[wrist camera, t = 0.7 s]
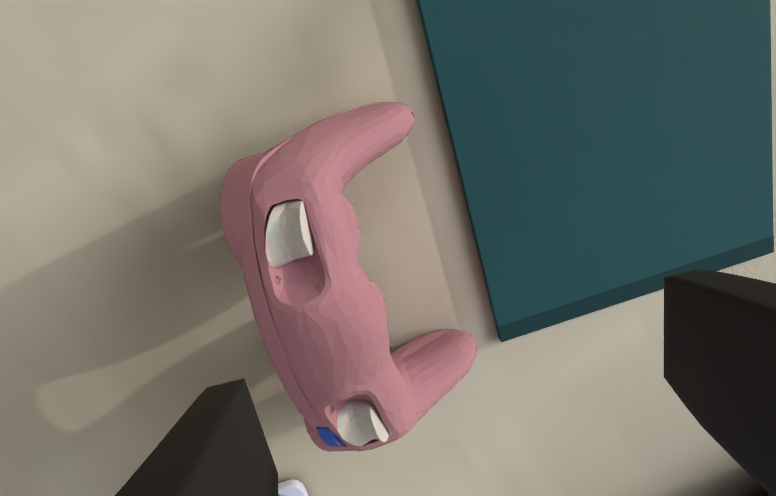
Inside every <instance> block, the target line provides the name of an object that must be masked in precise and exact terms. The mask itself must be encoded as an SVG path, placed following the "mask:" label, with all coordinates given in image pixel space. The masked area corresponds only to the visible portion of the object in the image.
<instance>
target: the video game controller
mask: <svg viewBox="0 0 776 496" xmlns="http://www.w3.org/2000/svg"><path fill="white" fill-rule="evenodd" d="M414 121H415V115H414V112H413V110H412V109H411V108H410V107H408V106H407V105H405V104H400V103H395V102H380V103H373V104H367V105H363V106H359V107H356V108H352V109H349V110H347V111H344V112H342V113H339V114H337V115H334V116H332V117H329V118H326V119H323V120H321V121H319V122H317V123H315V124H313V125H311V126H310V127H308V128H306V129H304V130H302V131H301V132H299V133H298V134H296V135H294V136H292V137H291V138H289V139H287V140H285V141H284V142H282V143H280V144H278V145H277V146H275V147H273V148H271V149H270V150H268V151H266V152H264V153H262V154H258V155H254V156H251V157H247V158H244V159H241V160H239V161H238V162H236V163H234V164H233V165H232V166H231V167H230V168H229V170H228V172H227V174H226V176H225V178H224V182H223V185H222V192H221V222H222V227H223V231H224V235H225V238H226V241H227V244H228V246H229V248H230V250H231V252H232V254H233V255H234V257H235V258H236V260H237V261H238V263H239V264H240V266H241V267H242V268H243V274H244V279H245V283H246V286H247V290H248V294H249V298H250V302H251V305H252V309H253V313H254V316H255V320H256V323H257V325H258V328H259V331H260V333H261V336H262V339H263V341H264V344H265V347H266V349H267V352H268V354H269V357H270V359H271V362H272V364H273V366H274V368H275V370H276V372H277V374H278V376H279V378H280V380H281V382H282V384H283V386H284V387H285V389H286V391H287V393H288V394H289V396H290V398H291V399H292V401H293V403H294V404H295V406H296V407H297V409H298V411H299V412H300V413H301V414H302V416H303V417H304V421H305V425H306V428H307V432H308V434H309V435H310V437H311V439H312V440H313V442H314V443H315V444H316V445H317V446H318V447H319V448H320V449H322V450H325V451H365V450H370V449H374V448H377V447H380V446H382V445H385V444H387V443H390V442H393V441H395V440H398V439H399V438H401V437H402V436H404V435H405V434H406V433H407V432H408V431H409V430H410V429H411V428H412V427H413V426H414V425H415V424H416V423H417V422H418V421H419V420H420V419H421V418H422V417H423V416H424V415H425V413H426V412H427V411H428V410H429V409H430V408H431V407H432V406H433V405H435V404H436V403H437V402H438V401H439V400H440V399H441V398H442V397H443V396H444V395H445V394H447V393H448V392H449V391H450V390H451V389H452V388H453V387H454V386H455V385H456V384H457V383H458V382H459V381H460V380H461V379H462V378H463V377H464V376H465V375H466V374H467V373H468V372H469V370H470V368H471V366H472V364H473V362H474V360H475V358H476V354H477V345H476V342H475V340H474V337H473V336H472V335H471V334H469V333H467V332H464V331H460V330H456V329H452V330H439V331H435V332H432V333H429V334H425V335H423V336H420V337H418V338H416V339H414V340H412V341H410V342H408V343H406V344H404V345H402V346H401V347H399V348H397V349H395V350H394V351H392V352H390V349H389V334H388V327H387V313H386V307H385V301H384V298H383V296H382V293H381V291H380V289H379V288H378V286H377V285H376V283H374V282H373V281H371V280H369V279H368V278H367V276H366V274H365V273H364V271H363V269H362V268H361V266H360V263H359V261H358V258H357V253H358V248H359V227H358V223H357V218H356V214H355V212H354V209H353V207H352V204H351V203H350V201H349V200H348V199H347V198H346V196H345V195H343V189H344V187H345V186H346V184H347V183H348V182H349V180H350V179H351V178H353V177H354V176H355V175H356V174H357V173H358V172H359V171H361V170H362V169H363V168H364V167H365V166H366V165H367V164H369V163H370V162H372V161H373V160H375V159H376V158H378V157H380V156H381V155H383V154H384V153H386V152H387V151H389V150H390V149H392V148H393V147H395V146H396V145H398V144H399V143H401V142H402V140H403V139H404V138H405V137H406V135H407V134H408V133H409V132H410V130H411V128H412V126H413V124H414Z"/></svg>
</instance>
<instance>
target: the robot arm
mask: <svg viewBox="0 0 776 496" xmlns="http://www.w3.org/2000/svg"><path fill="white" fill-rule="evenodd" d="M664 378H665V379H666V380H667V382H668V383H669V384H670V386H671V387H672V389H673V390H674V391H675V393H676V394H677V395H678V397H679V398H680V399H681V401H682V402H683V403H684V405H685V406H686V407H687V408H688V410H689V411H690V412H691V413H692V415H693V416H694V417H695V418H696V420H697V421H698V422H699V423H700V425H701V426H702V427H703V428H704V429H705V430H706V431H707V432H708V433H709V434H710V435H711V436H712V437H713V438H714V439H715V440H716V441H717V442H718V443H719V444H720V445H721V446H722V447H723V448H724V449H725V450H726V451H727V452H728V453H729V454H730V455H731V456H732V457H733V459H734V460H735V461H736V462H737V463H738V464H739V465H740V466H741V467H742V468H743V469H744V470H745V471H746V472H747V473H748V474H750V475H751V476H752V477H753V478H754V479H755V480H756V481H757V482H758V483H759V484H760V485H761V486H762V487H763V488H764V489H765V490H766V491H767V492H768V493H769V494H770V495H771V496H776V284H775V283H771V282H766V281H762V280H757V279H753V278H748V277H743V276H738V275H733V274H728V273H723V272H717V271H710V270H702V269H697V270H692V271H688V272H684V273H680V274H676V275H672V276H667V277H664ZM279 495H282V496H308V493H307V491H306V489H305V487H304V485H303V484H302V483H301V482H300V481H298V480H293V479H292V480H287V481H284V482H281V483H278V472H277V470H276V467H275V464H274V461H273V458H272V455H271V453H270V450H269V447H268V444H267V441H266V439H265V436H264V433H263V430H262V427H261V424H260V422H259V419H258V416H257V413H256V410H255V407H254V405H253V402H252V399H251V396H250V393H249V391H248V388H247V385H246V382H245V379H240V380H236V381H232V382H228V383H223V384H219V385H215V386H211V387H207V388H206V389H205V390H204V391H203V392H202V393H201V395H200V396H199V397H198V398H197V399H196V400H195V401H194V403H193V404H192V405H191V406H190V407H189V408H188V410H187V411H186V412H185V413H184V414H183V416H182V417H181V418H180V419H179V420H178V422H177V423H176V424H175V425H174V427H173V428H172V429H171V430H170V431H169V433H168V434H167V435H166V436H165V437H164V439H163V440H162V441H161V442H160V443H159V445H158V446H157V447H156V448H155V449H154V451H153V452H152V453H151V454H150V455H149V456H148V458H147V459H146V460H145V461H144V462H143V464H142V465H141V466H140V467H139V468H138V470H137V471H136V472H135V473H134V474H133V475H132V477H131V478H130V479H129V480H128V481H127V482H126V484H125V485H124V486H123V487H122V488H121V489H120V490H119V491H118V493H117V494H116V495H115V496H279Z"/></svg>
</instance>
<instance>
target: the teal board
mask: <svg viewBox="0 0 776 496" xmlns="http://www.w3.org/2000/svg"><path fill="white" fill-rule="evenodd" d="M417 3H418V8H419V12H420V16H421V20H422V24H423V28H424V32H425V36H426V40H427V45H428V49H429V53H430V57H431V61H432V65H433V69H434V73H435V77H436V82H437V86H438V90H439V94H440V98H441V102H442V106H443V110H444V115H445V119H446V123H447V127H448V131H449V135H450V139H451V143H452V147H453V152H454V156H455V160H456V164H457V168H458V172H459V176H460V180H461V184H462V189H463V193H464V197H465V201H466V205H467V209H468V213H469V217H470V222H471V226H472V230H473V234H474V238H475V242H476V246H477V250H478V254H479V259H480V263H481V267H482V271H483V275H484V279H485V283H486V287H487V291H488V296H489V300H490V304H491V308H492V312H493V316H494V320H495V324H496V329H497V333H498V337H499V339H500V341H501V342H503V341H506V340H509V339H512V338H515V337H518V336H521V335H524V334H528V333H531V332H534V331H537V330H540V329H543V328H546V327H549V326H552V325H555V324H558V323H561V322H564V321H567V320H570V319H573V318H576V317H579V316H582V315H585V314H588V313H591V312H594V311H597V310H600V309H603V308H606V307H609V306H612V305H615V304H618V303H621V302H624V301H627V300H630V299H633V298H636V297H639V296H642V295H645V294H648V293H651V292H654V291H657V290H661V289H664V277H667V276H672V275H676V274H680V273H684V272H688V271H692V270H697V269H702V270H710V271H718V270H721V269H724V268H727V267H730V266H733V265H736V264H739V263H742V262H745V261H748V260H751V259H754V258H757V257H760V256H763V255H766V254H769V253H772V252H774V236H773V178H772V100H771V21H770V0H417Z"/></svg>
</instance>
